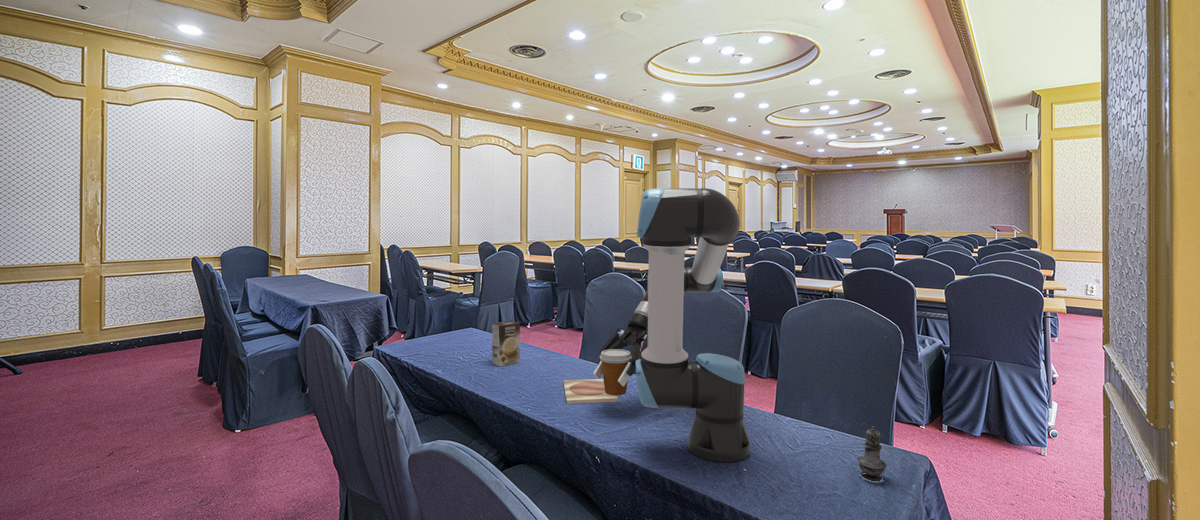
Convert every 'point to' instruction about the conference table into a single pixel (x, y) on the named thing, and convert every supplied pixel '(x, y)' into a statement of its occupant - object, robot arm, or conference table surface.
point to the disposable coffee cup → (614, 370)
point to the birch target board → (587, 391)
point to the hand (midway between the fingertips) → (608, 379)
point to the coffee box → (505, 343)
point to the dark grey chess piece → (872, 457)
